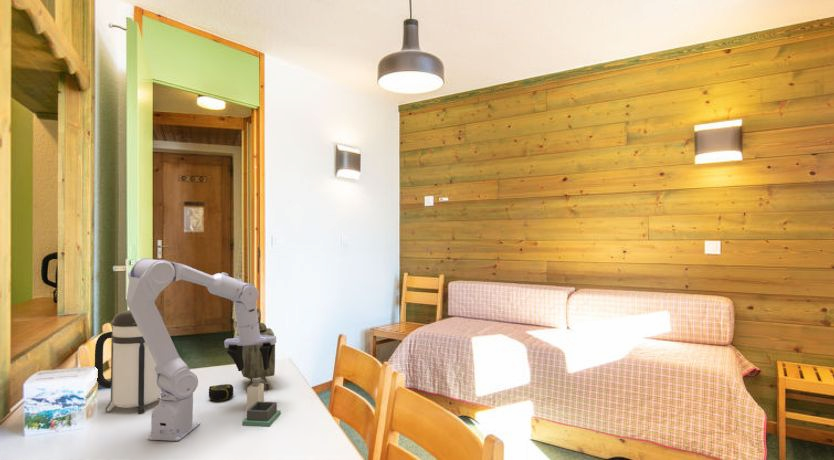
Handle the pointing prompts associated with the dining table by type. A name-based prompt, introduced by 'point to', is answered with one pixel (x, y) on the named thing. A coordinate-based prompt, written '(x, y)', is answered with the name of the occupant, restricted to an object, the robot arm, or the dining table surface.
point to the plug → (255, 394)
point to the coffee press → (128, 365)
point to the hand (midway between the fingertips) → (253, 368)
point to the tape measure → (220, 392)
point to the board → (261, 414)
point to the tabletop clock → (258, 358)
